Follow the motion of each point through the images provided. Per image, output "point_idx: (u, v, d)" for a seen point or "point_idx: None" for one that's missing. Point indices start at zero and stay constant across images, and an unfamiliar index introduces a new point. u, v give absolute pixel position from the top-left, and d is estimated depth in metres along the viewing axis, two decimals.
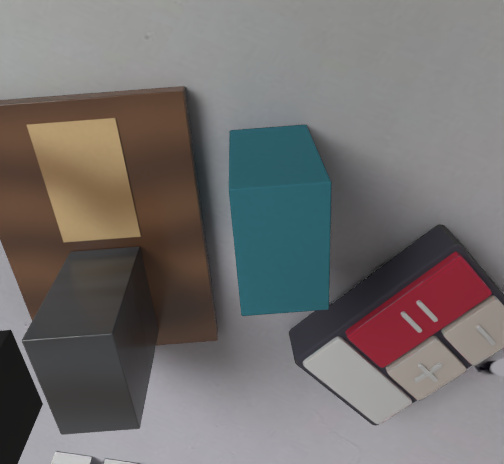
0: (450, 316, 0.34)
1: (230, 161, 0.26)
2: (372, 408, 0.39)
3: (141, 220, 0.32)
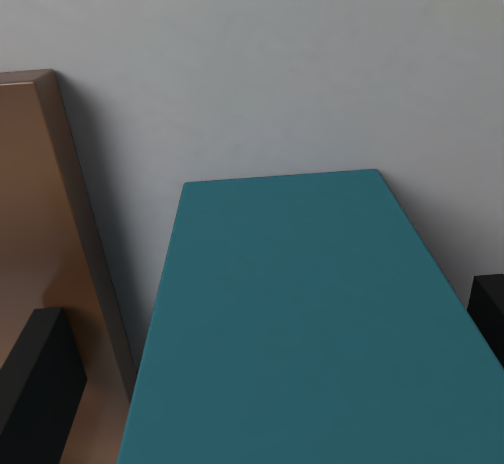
0: None
1: (153, 322, 0.08)
2: None
3: None
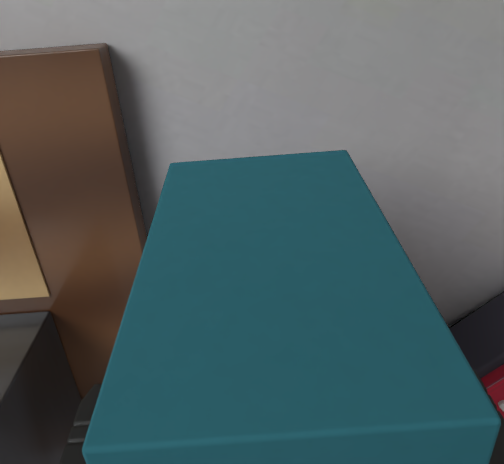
0: None
1: (138, 273, 0.09)
2: None
3: (48, 271, 0.20)
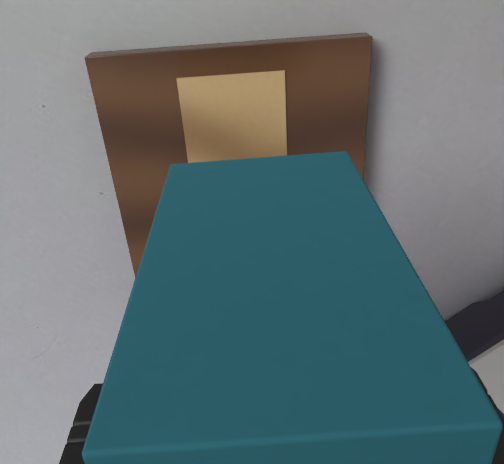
0: None
1: (138, 275, 0.09)
2: None
3: None
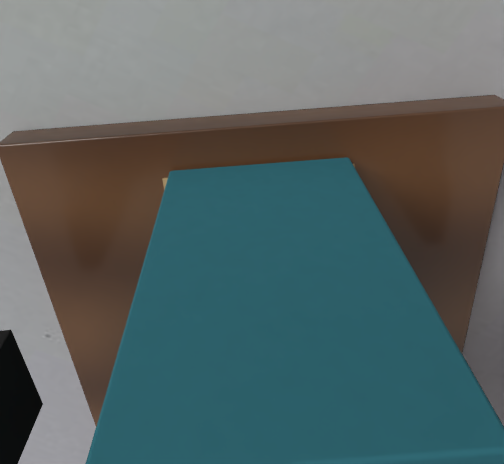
0: None
1: (138, 288, 0.08)
2: None
3: None
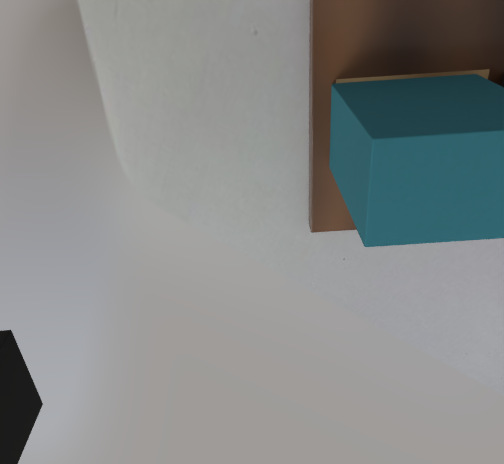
0: None
1: None
2: None
3: (467, 65, 0.26)
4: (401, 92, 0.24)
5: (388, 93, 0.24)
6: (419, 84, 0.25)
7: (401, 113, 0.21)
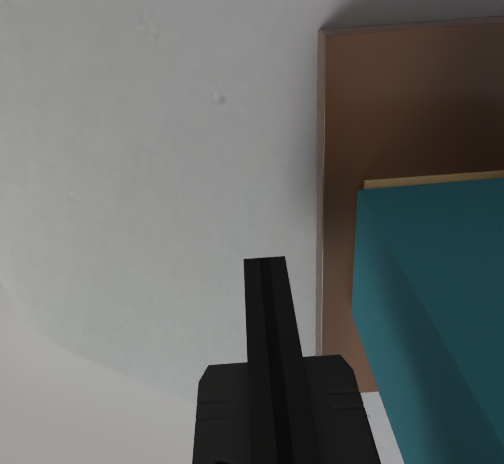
0: None
1: (398, 444, 0.12)
2: None
3: None
4: (498, 225, 0.12)
5: (473, 225, 0.12)
6: None
7: None
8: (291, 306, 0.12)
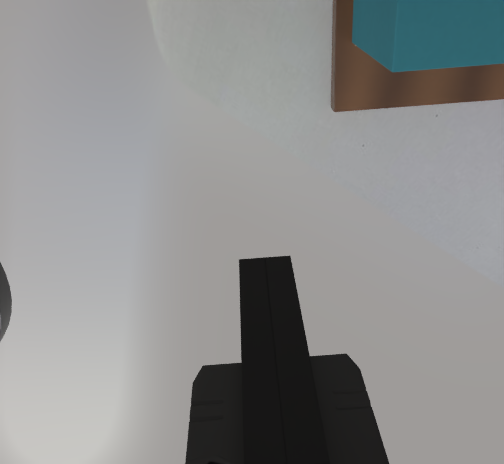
0: None
1: (373, 57, 0.26)
2: None
3: None
4: None
5: None
6: None
7: None
8: (297, 305, 0.12)
